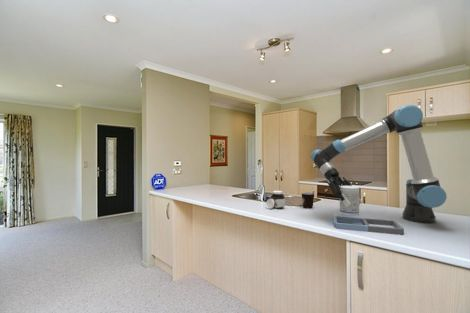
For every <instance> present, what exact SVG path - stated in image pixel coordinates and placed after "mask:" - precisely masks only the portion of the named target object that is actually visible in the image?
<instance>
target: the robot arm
mask: <svg viewBox="0 0 470 313" xmlns="http://www.w3.org/2000/svg"><path fill="white" fill-rule="evenodd" d="M423 117H424V112H423V110H422V109H421V108H420V107H418V106H417V105H415V104H406V105H402V106H399V107H398V108H397V109H395V110H394V111H392V112H391V113H390V114H388V115H387V116H385V117H383V118H380V120H379V121H378V122H376V123H374V124H372V125H370V126H368V127H365V128H363V129H360V130H359V131H357V132H354V133H353V134H351V135H349V136H346V137H344V138H342V139H336V140H334V141H333V142H332V143H331V144H329V145H327V146H326V147H325V148H324V149H322V150H321V149H320V148H319V149H318V148H317V149H314V150H313V151H312V152H311V154H310V158H311V160H312V162H313V163H314V165H316V167H317V168H318V170H319V171H320V172H321V173H322V175H323V176H324V178H325V179H326V184H328V186H329V188H330V190H331V192H332V194H333V195H334V196H335V197H336V198H339V200H340V199H341V201H342V202H343V203H344V204H345V206H346V207H348V206H349V205H350V204H351V203H350V202H349V201H348V200H347V198H346V197H345V196H344V194H341V191H340V186H353V185H352V184H351V183H350V182H349V181H348V180H347V179H346V178H345V177H341V176H340V172H339V171H338V170H337V169H336V167H335V165H333V164H332V162H331V161H332V160H333V159H335V158H336V157H337V156H339V155H341V154H342V153H344V152H346V151H348V150H351V149H353V148H355V147H358V146H360V145H362V144H364V143H366V142H369V141H371V140H373V139H375V138H377V137H380V136H382V135H385V134H391V133H394V132H396V134H397V135H398V136H401V141H402V143H403V148H404V151H405V154H406V157H407V158H406V159H407V161H408V165H409V169H410V172H411V176H412V178H411V179H407V180H406V184H405V187H406V190H405V193H406V194H405V195H406V196H405V199H406V202H405V207H404V210H403V211H402V218H403V219H405V220H407V221H410V222H415V223H424V224H433V223H436V219H437V218H436V216H435V212H434V211H433V209H435V208H439V207H441V206H443V205H444V203H445V202H446V201H447V198H448V197H447V192H446V191H445V190H444V188H443V187H441V183H440V180H439V179H438V177H436V176H434V174H433V170H432V166H431V162H430V158H429V157H428V155H429V154H428V153H427V149H426V145H425V142H424V139H423V135H422V129H424V125H423V122H422V121H423ZM362 203H363V201H362V198H360V197H359V206H360V205H361V204H362Z"/></svg>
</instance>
